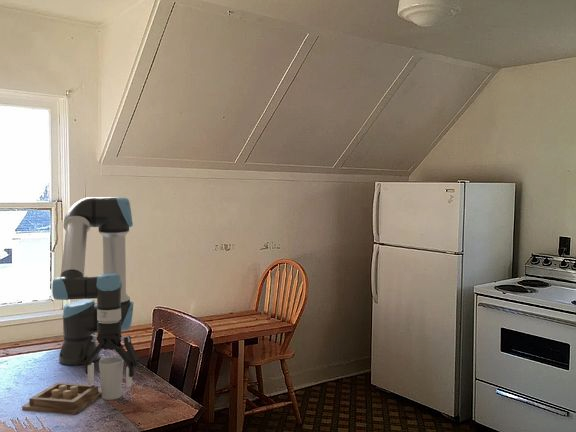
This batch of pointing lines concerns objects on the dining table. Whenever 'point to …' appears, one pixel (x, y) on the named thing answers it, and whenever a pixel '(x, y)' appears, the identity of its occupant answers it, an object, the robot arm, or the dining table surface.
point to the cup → (111, 377)
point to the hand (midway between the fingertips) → (109, 385)
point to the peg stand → (64, 398)
